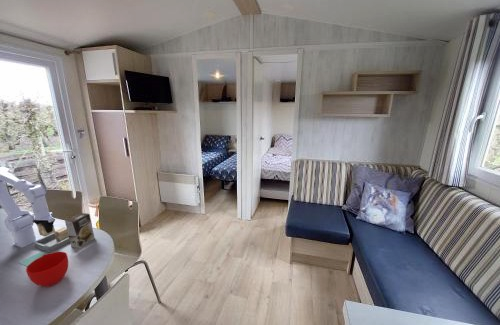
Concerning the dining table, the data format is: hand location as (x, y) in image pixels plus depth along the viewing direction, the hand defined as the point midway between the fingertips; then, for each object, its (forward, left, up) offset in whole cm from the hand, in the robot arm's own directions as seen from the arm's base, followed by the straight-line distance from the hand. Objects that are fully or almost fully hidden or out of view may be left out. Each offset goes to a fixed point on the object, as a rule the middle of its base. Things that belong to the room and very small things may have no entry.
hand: (47, 231), depth 115 cm
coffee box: (+14, +8, -9) cm, 19 cm away
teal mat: (+6, -9, -9) cm, 14 cm away
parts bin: (0, +3, -9) cm, 10 cm away
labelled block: (0, 0, -1) cm, 1 cm away
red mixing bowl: (+28, -14, -9) cm, 33 cm away
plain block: (0, +6, -9) cm, 11 cm away
